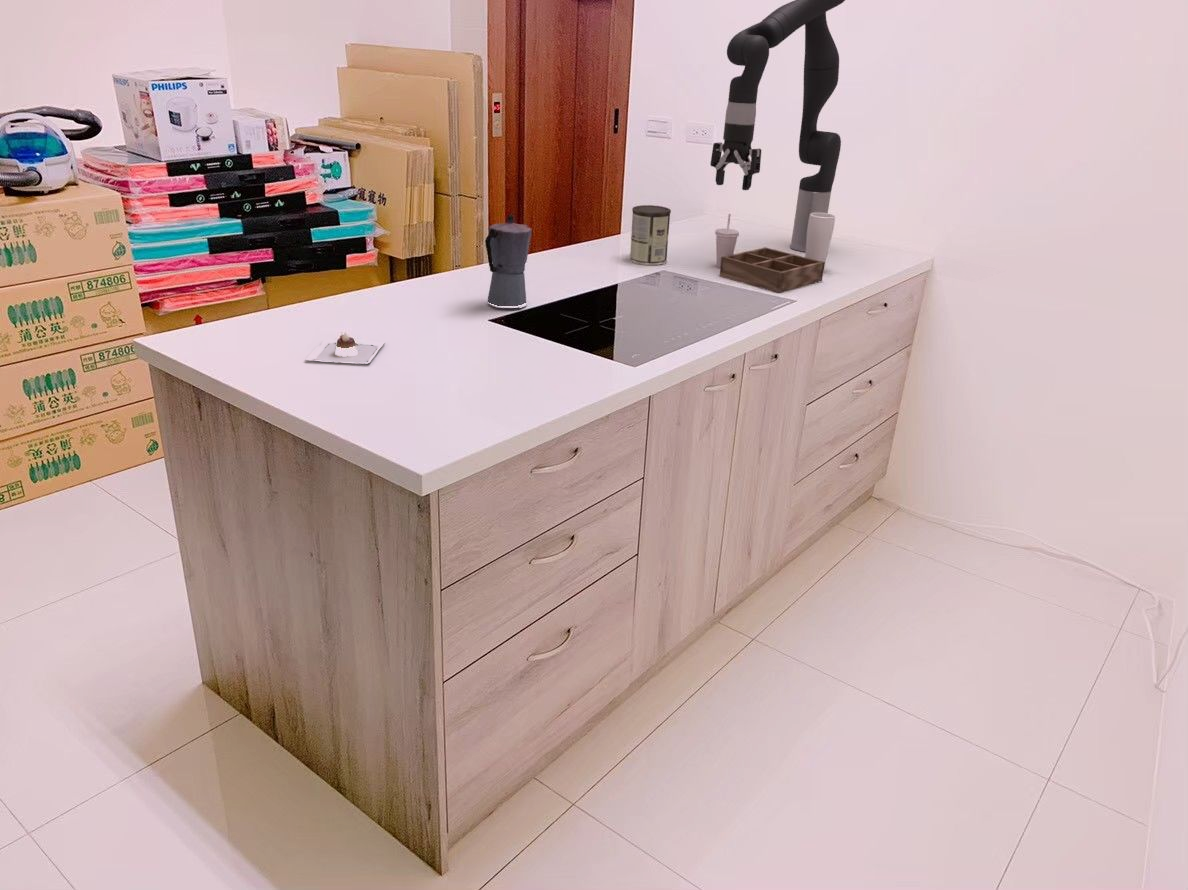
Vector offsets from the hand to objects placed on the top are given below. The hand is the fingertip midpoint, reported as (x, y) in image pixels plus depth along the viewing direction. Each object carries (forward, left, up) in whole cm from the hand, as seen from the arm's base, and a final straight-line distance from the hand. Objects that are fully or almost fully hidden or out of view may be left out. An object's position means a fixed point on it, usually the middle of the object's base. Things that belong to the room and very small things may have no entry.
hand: (732, 187), depth 228 cm
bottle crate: (-1, +15, -21) cm, 26 cm away
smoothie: (0, 0, -21) cm, 21 cm away
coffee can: (+13, -16, -21) cm, 30 cm away
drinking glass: (-18, +17, -21) cm, 33 cm away
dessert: (+113, 0, -22) cm, 115 cm away
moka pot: (+70, -6, -21) cm, 73 cm away
